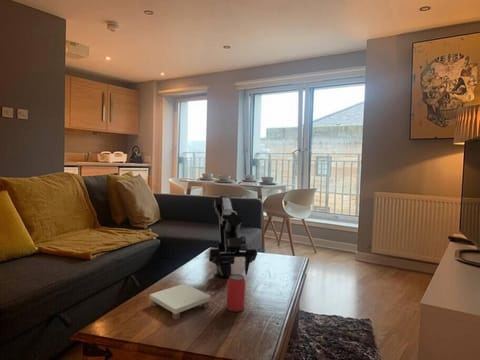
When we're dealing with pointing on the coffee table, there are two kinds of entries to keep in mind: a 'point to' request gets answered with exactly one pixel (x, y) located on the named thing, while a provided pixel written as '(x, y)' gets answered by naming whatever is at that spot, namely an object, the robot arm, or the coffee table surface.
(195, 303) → the white square platform
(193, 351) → the coffee table surface
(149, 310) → the coffee table surface
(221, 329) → the coffee table surface
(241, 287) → the beer can
